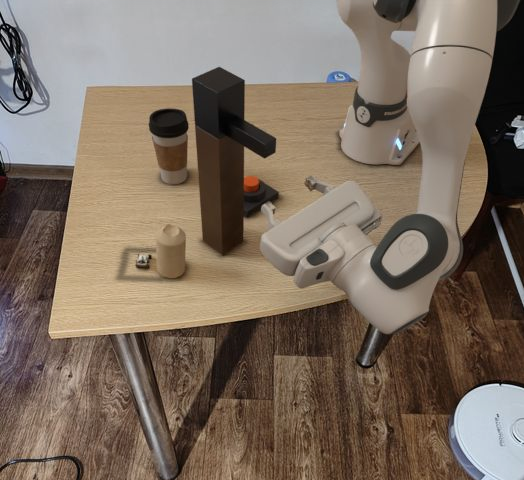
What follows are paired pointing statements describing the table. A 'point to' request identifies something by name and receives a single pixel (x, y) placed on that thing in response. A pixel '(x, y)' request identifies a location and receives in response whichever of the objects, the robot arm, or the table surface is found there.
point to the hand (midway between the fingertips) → (286, 191)
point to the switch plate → (258, 198)
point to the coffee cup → (170, 143)
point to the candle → (170, 251)
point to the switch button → (251, 184)
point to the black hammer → (227, 111)
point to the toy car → (143, 260)
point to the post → (220, 190)
